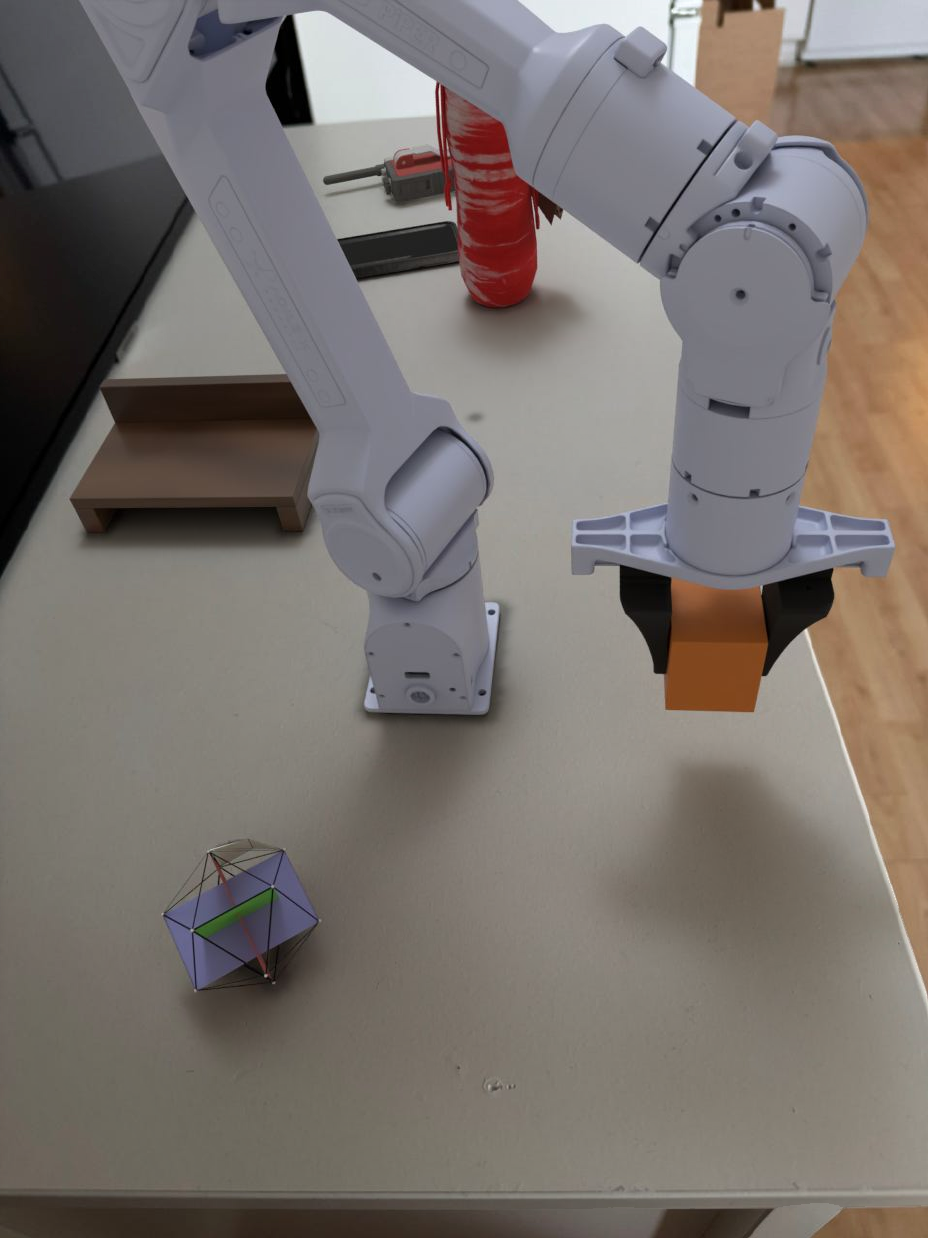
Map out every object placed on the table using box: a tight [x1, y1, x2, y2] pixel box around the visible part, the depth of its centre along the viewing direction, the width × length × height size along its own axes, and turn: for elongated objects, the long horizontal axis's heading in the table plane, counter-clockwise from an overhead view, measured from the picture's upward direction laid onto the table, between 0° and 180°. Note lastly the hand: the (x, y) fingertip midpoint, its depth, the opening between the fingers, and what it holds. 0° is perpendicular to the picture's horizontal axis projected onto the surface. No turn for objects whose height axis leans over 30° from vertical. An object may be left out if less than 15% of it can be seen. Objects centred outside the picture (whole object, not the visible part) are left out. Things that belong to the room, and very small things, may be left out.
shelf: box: [69, 373, 319, 533], centre depth 76 cm, size 11×18×7 cm, turn 84°
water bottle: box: [434, 81, 564, 308], centre depth 87 cm, size 12×8×25 cm, turn 91°
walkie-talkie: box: [322, 144, 455, 203], centre depth 114 cm, size 9×4×20 cm
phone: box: [337, 220, 459, 279], centre depth 103 cm, size 8×1×15 cm
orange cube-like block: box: [663, 578, 768, 713], centre depth 50 cm, size 5×5×6 cm
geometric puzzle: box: [160, 838, 322, 993], centre depth 48 cm, size 7×7×8 cm
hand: (709, 661), depth 51 cm, fingers closed on orange cube-like block, 4 cm apart
